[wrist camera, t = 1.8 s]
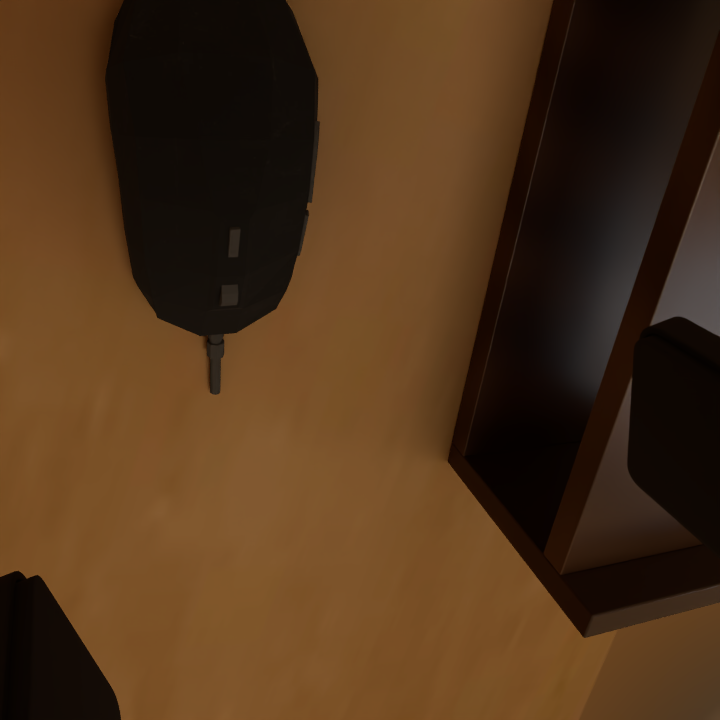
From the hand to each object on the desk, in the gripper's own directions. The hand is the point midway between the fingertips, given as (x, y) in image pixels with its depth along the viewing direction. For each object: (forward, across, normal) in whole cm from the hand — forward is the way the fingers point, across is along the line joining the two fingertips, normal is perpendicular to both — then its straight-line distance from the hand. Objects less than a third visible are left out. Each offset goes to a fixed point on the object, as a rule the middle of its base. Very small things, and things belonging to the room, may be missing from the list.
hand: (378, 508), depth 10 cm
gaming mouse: (+17, 0, 0) cm, 17 cm away
